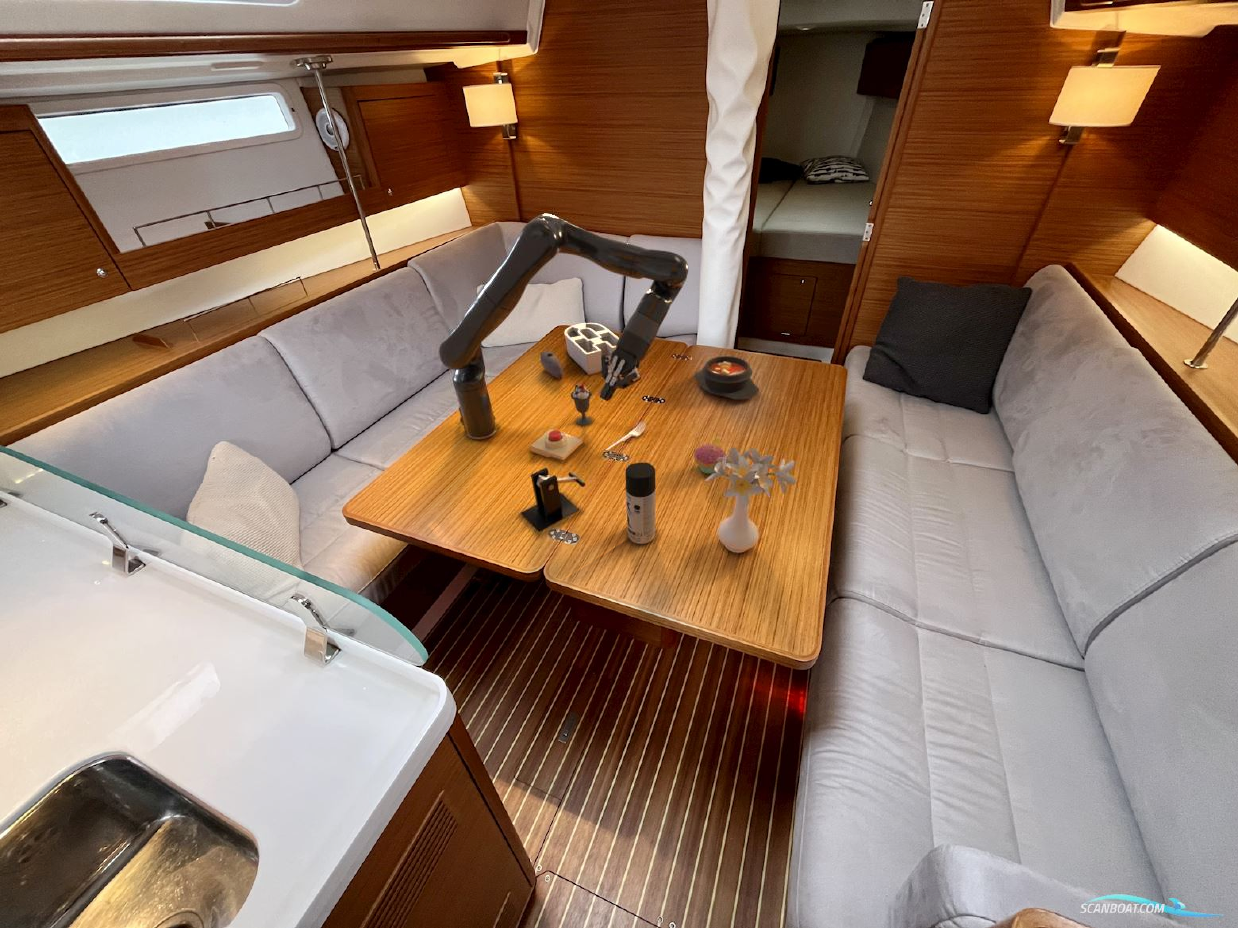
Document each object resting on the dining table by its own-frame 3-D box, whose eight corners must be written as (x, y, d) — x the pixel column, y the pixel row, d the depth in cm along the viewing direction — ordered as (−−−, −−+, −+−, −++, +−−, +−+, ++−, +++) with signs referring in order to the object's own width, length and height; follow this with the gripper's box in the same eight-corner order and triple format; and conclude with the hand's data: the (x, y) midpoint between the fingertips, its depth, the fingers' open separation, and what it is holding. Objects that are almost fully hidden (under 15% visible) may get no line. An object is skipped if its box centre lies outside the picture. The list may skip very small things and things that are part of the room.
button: (547, 440, 147) (546, 435, 146) (554, 433, 150) (553, 429, 149) (556, 443, 146) (556, 438, 145) (564, 437, 148) (563, 432, 147)
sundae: (591, 428, 158) (587, 386, 149) (571, 426, 159) (566, 385, 150) (596, 416, 163) (593, 375, 154) (577, 415, 164) (572, 374, 155)
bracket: (560, 495, 133) (554, 457, 125) (579, 512, 127) (574, 474, 119) (521, 516, 127) (512, 477, 119) (539, 535, 122) (531, 496, 114)
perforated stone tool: (568, 380, 184) (566, 363, 179) (555, 384, 182) (552, 366, 178) (553, 364, 194) (551, 348, 190) (540, 368, 192) (538, 351, 188)
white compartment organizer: (588, 375, 186) (586, 354, 180) (560, 348, 206) (558, 328, 200) (627, 365, 191) (626, 344, 186) (597, 339, 211) (595, 319, 206)
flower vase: (788, 550, 114) (808, 465, 98) (715, 572, 110) (724, 486, 95) (758, 513, 124) (773, 430, 108) (690, 532, 120) (695, 449, 104)
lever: (570, 477, 130) (573, 469, 129) (584, 489, 126) (586, 480, 125) (532, 480, 122) (534, 471, 121) (545, 492, 118) (547, 483, 117)
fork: (595, 455, 146) (595, 450, 145) (640, 425, 157) (640, 420, 156) (603, 459, 144) (603, 454, 143) (648, 429, 156) (648, 424, 154)
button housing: (531, 451, 149) (529, 440, 147) (551, 434, 156) (549, 424, 153) (563, 463, 144) (561, 451, 142) (582, 445, 151) (581, 434, 148)
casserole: (771, 393, 169) (774, 371, 164) (730, 411, 162) (732, 388, 157) (721, 366, 186) (723, 345, 181) (682, 381, 179) (682, 360, 174)
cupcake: (726, 462, 141) (730, 427, 133) (721, 480, 134) (724, 445, 127) (696, 457, 143) (698, 422, 136) (690, 475, 137) (691, 440, 129)
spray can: (626, 526, 123) (623, 462, 110) (653, 523, 123) (653, 459, 111) (629, 546, 117) (625, 481, 105) (657, 543, 118) (657, 478, 105)
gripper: (611, 320, 120) (577, 384, 123) (649, 339, 112) (612, 406, 115) (628, 332, 126) (595, 392, 129) (665, 351, 118) (630, 414, 121)
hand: (603, 399), depth 122 cm, fingers closed
